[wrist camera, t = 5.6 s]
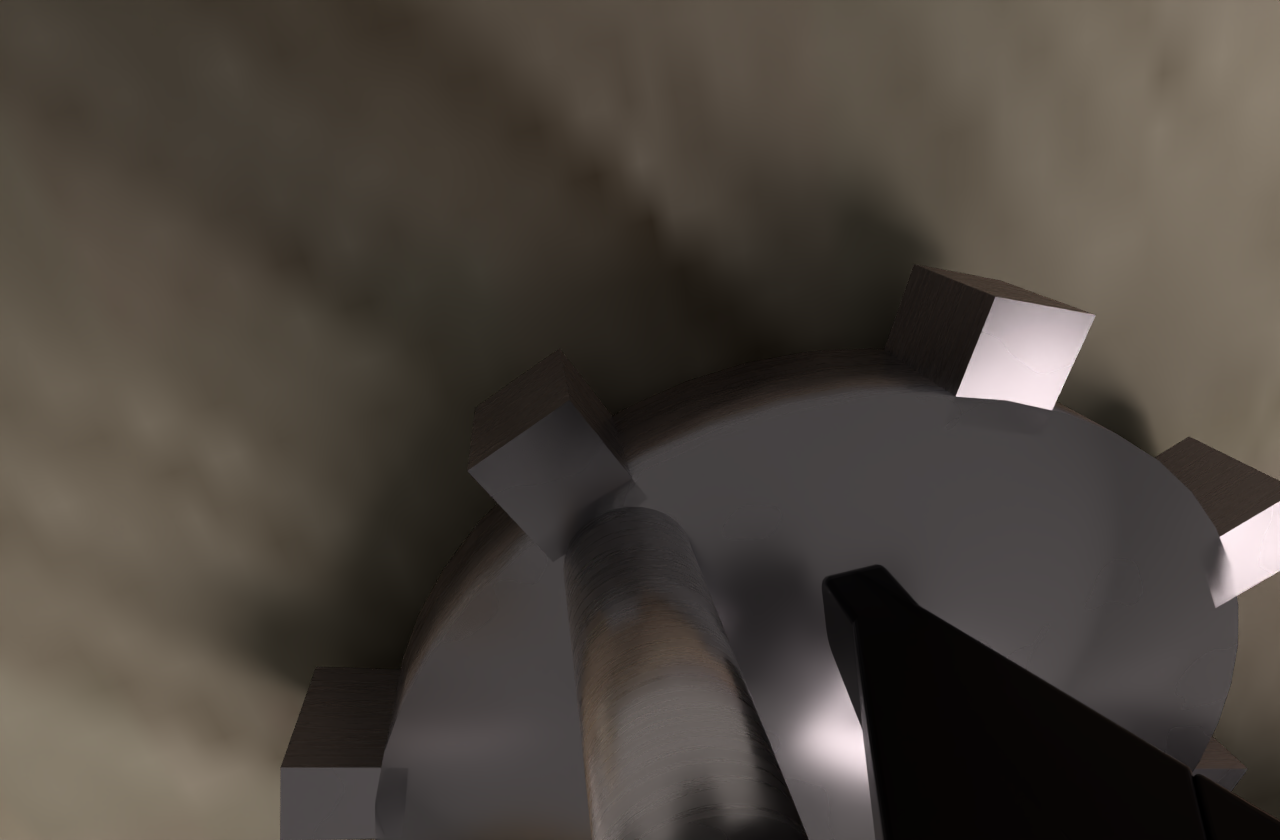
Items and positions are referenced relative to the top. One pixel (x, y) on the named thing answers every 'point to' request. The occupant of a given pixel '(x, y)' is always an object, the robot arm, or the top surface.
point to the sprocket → (781, 587)
